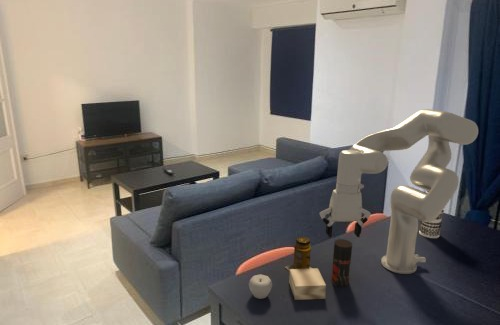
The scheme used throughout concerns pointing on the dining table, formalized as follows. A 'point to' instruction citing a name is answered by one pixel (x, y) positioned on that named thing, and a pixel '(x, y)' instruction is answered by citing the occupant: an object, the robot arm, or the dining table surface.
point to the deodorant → (341, 262)
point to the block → (307, 284)
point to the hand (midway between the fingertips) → (343, 235)
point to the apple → (260, 286)
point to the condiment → (301, 254)
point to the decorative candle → (431, 226)
